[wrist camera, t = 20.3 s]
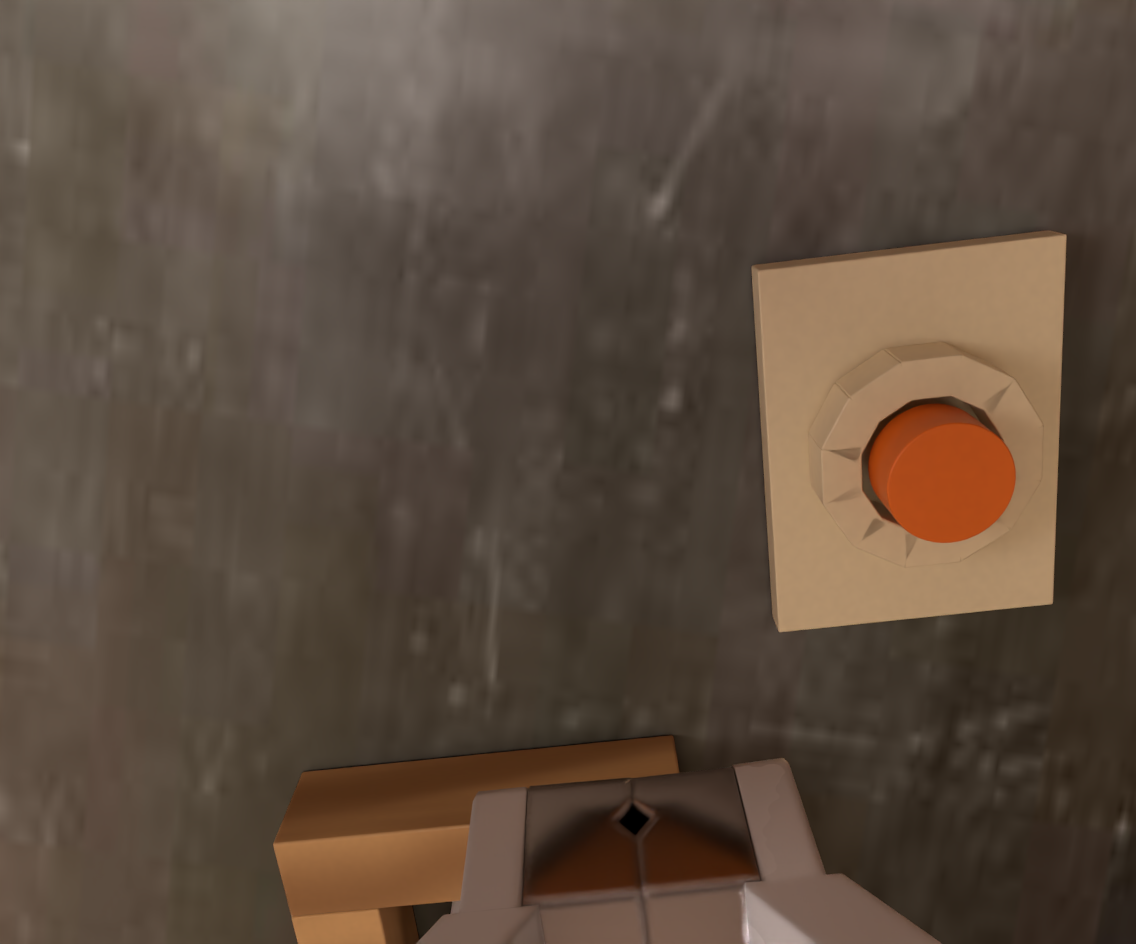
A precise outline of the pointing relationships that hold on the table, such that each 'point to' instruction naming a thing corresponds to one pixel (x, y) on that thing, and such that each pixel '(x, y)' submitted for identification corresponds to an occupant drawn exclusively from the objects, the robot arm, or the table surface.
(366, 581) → the table surface
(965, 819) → the table surface
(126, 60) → the table surface
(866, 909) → the robot arm
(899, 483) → the button
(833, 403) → the block
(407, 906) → the dock
